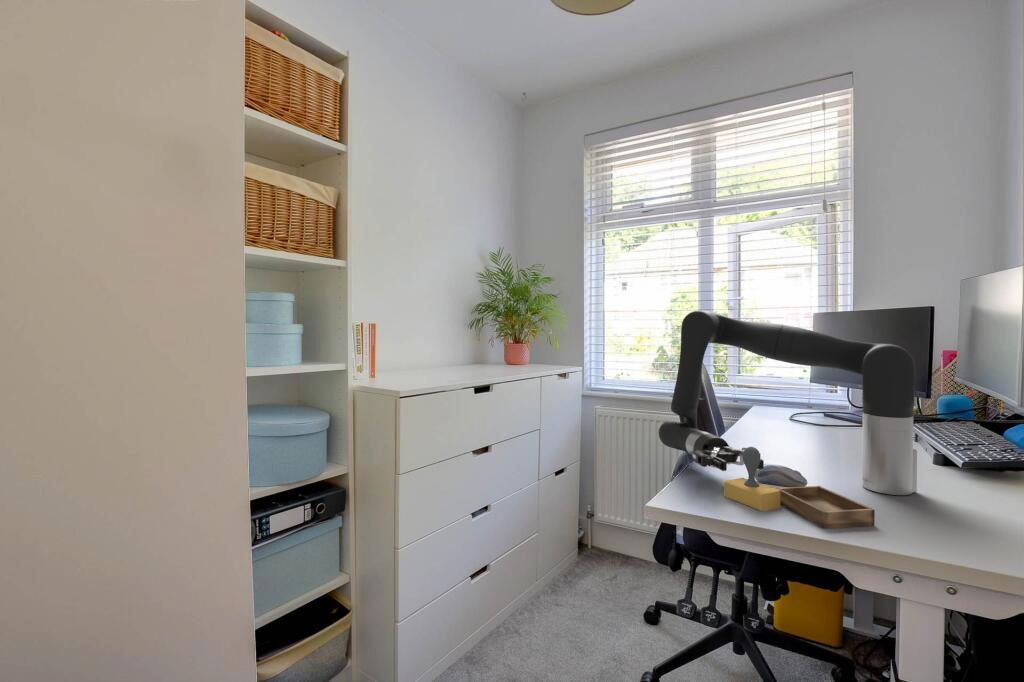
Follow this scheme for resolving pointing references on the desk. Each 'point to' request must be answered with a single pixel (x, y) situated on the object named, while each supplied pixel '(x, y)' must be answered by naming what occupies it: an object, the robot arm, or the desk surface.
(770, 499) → the rubber stamp
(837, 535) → the desk surface
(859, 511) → the tray
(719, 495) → the desk surface
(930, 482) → the desk surface
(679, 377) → the robot arm
